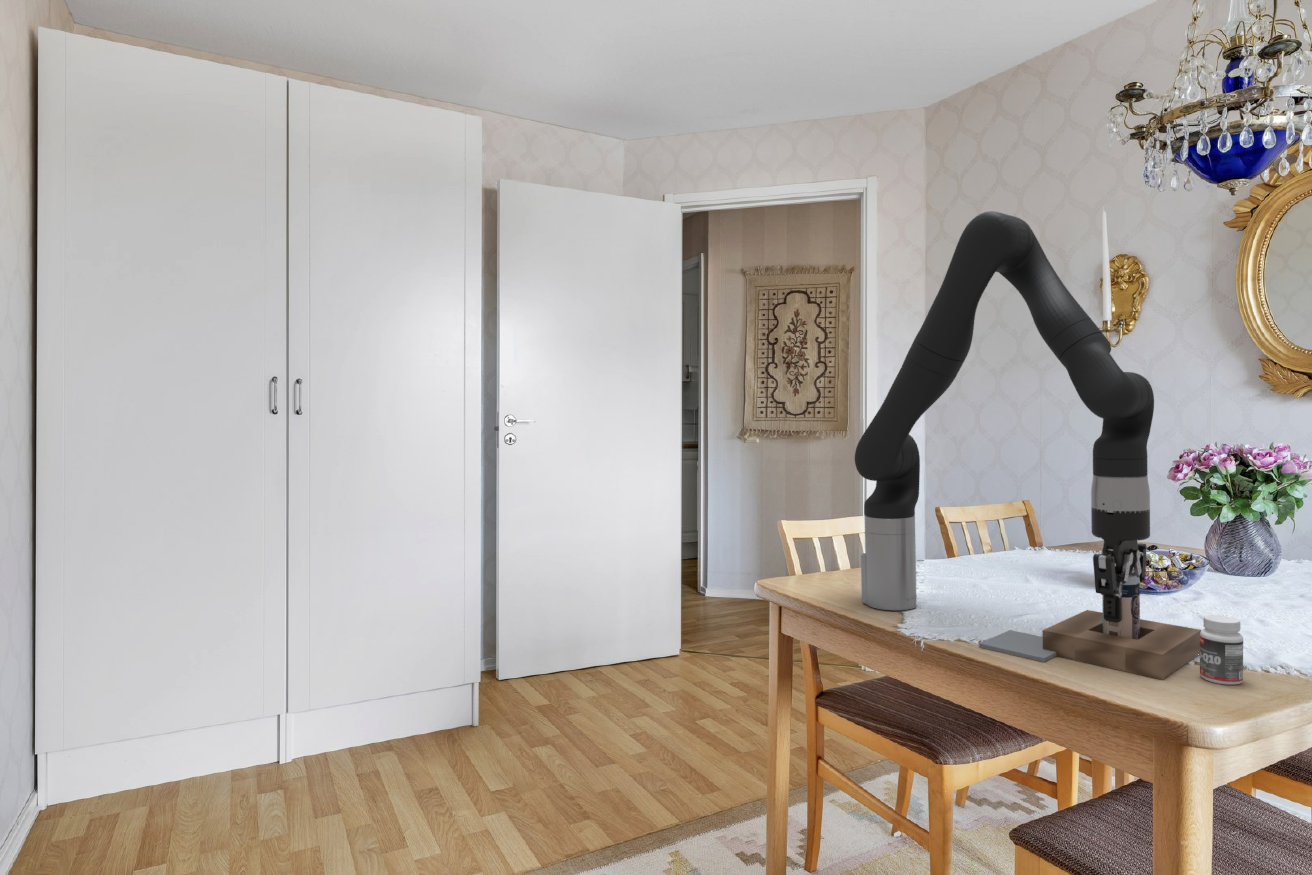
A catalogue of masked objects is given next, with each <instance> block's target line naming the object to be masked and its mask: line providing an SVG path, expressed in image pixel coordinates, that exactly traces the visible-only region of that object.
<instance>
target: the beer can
mask: <svg viewBox="0 0 1312 875" xmlns="http://www.w3.org/2000/svg"><path fill="white" fill-rule="evenodd" d="M1115 575H1118V574H1115ZM1116 584H1117V582H1116ZM1140 584H1141V582H1139V580H1138V578H1137V577H1136V575H1135V574H1133V573H1129V575H1128V581H1127V582H1126V583H1124V584H1123V589H1122V595H1121V597H1122V620H1121V621H1120V622H1118V623H1116V622H1110V621H1106V620H1105V619H1104V600H1103V596H1104V595H1101V596H1102V597H1101V599H1102V613H1103V633H1105V634H1110V635H1115V636H1120V637H1126V638H1131V639H1136V640H1138V639H1140V619H1141V611H1140V610H1141V609H1140V608H1141V606H1140V605H1141V603H1140V602H1141V600H1140V599H1141V598H1140V597H1141V596H1140V595H1141V594H1140V590H1141V589H1140V588H1141V586H1140ZM1108 586H1109V584H1108ZM1109 587H1110V586H1109Z"/></svg>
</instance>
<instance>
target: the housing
mask: <svg viewBox="0 0 1312 875" xmlns="http://www.w3.org/2000/svg"><path fill="white" fill-rule="evenodd" d="M1201 630H1202V629H1199V628H1193V627H1187V626H1182V625H1175V624H1170V623H1166V622H1165V623H1163V622H1159V621H1155V620H1154V621H1153V620H1147V619H1142V618H1140V639H1138V640H1136V639H1131V638H1126V637H1120V636H1115V635H1110V634H1105V633H1103V611H1102V612H1101V611H1096V610H1090V609H1086V610H1084V611H1082V612H1079V613H1077V614H1075V615H1072V616H1071V617H1068V618H1066V619H1064V620H1062V621H1060V622H1057V623H1055V624H1053V625H1051V626H1048V627H1047V628H1044V629H1042V637H1043V649H1045V650H1049V651H1054V652H1056V656H1055V657H1059V658H1064V659H1068V660H1073V661H1077V662H1082V663H1085V664H1091V665H1095V666H1100V667H1104V668H1109V669H1112V670H1113V669H1114V670H1118V671H1122V672H1126V673H1131V674H1135V675H1138V676H1139V675H1140V676H1144V677H1147V678H1148V677H1149V678H1152V679H1153V678H1154V679H1157V680H1161V681H1163V680H1164V679H1166V678H1168V677H1169V676H1170V675H1172V674H1173V673H1175V672H1176V671H1178V670H1179V669H1181V668H1182V667H1184V666H1185V665H1187V664H1188V663H1189V662H1191V661H1192V660H1194V659H1195V658H1196V657H1198V656H1199V655H1200V632H1201ZM1198 654H1199V655H1198ZM1197 655H1198V656H1197Z"/></svg>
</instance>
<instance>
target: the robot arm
mask: <svg viewBox="0 0 1312 875" xmlns="http://www.w3.org/2000/svg"><path fill="white" fill-rule="evenodd" d="M995 273H999V274H1000V276H1002V277H1003V278H1005V280H1007V281H1008V282H1009V283H1010V284H1011V285H1012V286H1013V287H1014V288H1015V289H1016V291H1018V292H1019V294H1020V296H1021V297H1022V298H1023V300H1024V302H1025V303H1026V305H1027V308H1028V309H1029V312H1030V315H1031V317H1032V320H1033V323H1034V325H1035V327H1036V329H1037V331H1038V333H1039V335H1040V336H1041V338H1042V339H1043V341H1044V342H1045V344H1046V345H1047V347H1048V348H1049V349H1050V350H1051V352H1052V353H1053V354H1054V356H1056V358H1057V360H1058V361H1059V362H1060V363H1061V365H1062V366H1063V367H1064V368H1065V370H1066V371H1067V373H1068V377H1069V379H1070V381H1071V383H1072V385H1073V386H1074V388H1075V391H1076V392H1077V395H1078V396H1079V398H1080V400H1081V402H1082V403H1083V404H1084V405H1085V407H1086V408H1087V409H1088V410H1089V411H1090V412H1091V413H1092V414H1094V415H1095V416H1097V417H1098V418H1101V419H1102V427H1101V434H1100V436H1098V438H1097V439H1096V440H1095V441H1094V443H1093V448H1092V481H1091V490H1090V491H1091V492H1090V498H1091V500H1090V503H1091V504H1090V506H1091V507H1090V508H1091V509H1090V511H1091V513H1090V514H1091V516H1090V517H1091V518H1090V519H1091V534H1092V535H1093V536H1094V537H1095V538H1099V539H1102V541H1103V547H1102V550H1101V554H1099V553H1098V554H1097V553H1094V554H1093V555H1092V562H1093V564H1092V565H1093V574H1094V586H1095V587H1094V588H1095V593H1096V594H1100V595H1101V596H1102V595H1104V596H1103V600H1104V619H1105V620H1106V621H1110V622H1116V623H1118V622H1120V621H1121V620H1122V597H1121V595H1122V589H1123V584H1124V583H1126V582H1127V581H1128V575H1129V573H1133V574H1135V575H1136V577H1137V578H1138V580H1139V582H1140V587H1141V586H1142V585H1141V583H1143V584H1145V581H1146V564H1147V549H1148V546H1147V544H1146V543H1142V542H1141V543H1140V542H1138V541H1144V540H1147V539H1149V538H1150V537H1151V489H1150V485H1149V480H1148V478H1149V477H1148V442H1149V438H1150V434H1151V433H1150V432H1151V430H1152V429H1151V428H1152V422H1153V417H1154V411H1155V396H1154V390H1153V387H1152V385H1151V383H1150V381H1149V380H1148V379H1147V378H1146V377H1145V376H1143V375H1141V374H1140V373H1137V372H1133V371H1123V370H1122V368H1120V366H1119V365H1118V363H1117V362H1116V360H1115V359H1114V357H1113V356H1112V354H1111V352H1112V344H1110V341H1109V339H1108V337H1106V335H1105V334H1104V333H1103V332H1102V330H1101V329H1100V328H1099V327H1098V326H1097V324H1096V323H1095V322H1094V321H1093V319H1092V318H1091V317H1090V316H1089V315H1088V313H1087V312H1086V311H1085V310H1084V308H1083V307H1082V306H1081V305H1080V304H1079V303H1078V301H1077V300H1076V299H1075V298H1074V296H1073V295H1072V294H1071V292H1070V291H1069V290H1068V288H1067V287H1066V286H1065V284H1064V283H1063V282H1062V280H1061V278H1060V277H1059V275H1058V274H1057V272H1056V270H1055V269H1054V267H1053V266H1052V264H1051V262H1050V261H1049V259H1048V257H1047V256H1046V253H1045V251H1044V249H1043V247H1042V246H1041V244H1040V242H1039V240H1038V238H1037V236H1036V235H1035V232H1034V231H1033V230H1032V228H1031V226H1030V224H1028V223H1027V222H1026V221H1025V220H1024V219H1021V218H1020V217H1017V216H1013V215H1009V214H1007V213H1002V212H999V211H984V212H981V213H979V214H978V215H976V216H974V218H972V219H971V220H970V221H969V222H968V224H967V225H966V226H965V228H964V229H963V231H962V233H961V235H960V237H959V239H958V242H957V244H956V246H955V249H954V251H953V255H952V257H951V259H950V262H949V265H948V268H947V270H946V272H945V276H944V278H943V281H942V283H941V286H940V288H939V291H938V292H937V294H936V296H935V298H934V300H933V302H932V305H931V306H930V308H929V310H928V312H927V315H926V317H925V319H924V321H923V323H922V325H921V326H920V329H919V330H918V332H917V334H916V336H915V337H914V339H913V341H912V344H911V346H910V347H909V348H908V349H909V350H908V351H907V353H906V356H905V358H904V361H903V363H902V364H901V367H900V369H899V371H898V373H897V375H896V377H895V379H894V380H893V383H892V384H891V386H890V388H889V390H888V392H887V393H886V396H885V399H884V400H883V402H882V404H881V405H880V408H879V409H878V410H877V413H876V414H875V415H874V416H873V418H872V420H871V422H870V423H869V424H868V426H867V428H866V430H865V431H864V432H863V433H862V436H861V437H860V439H859V441H858V443H857V446H856V448H855V453H854V465H855V467H856V468H855V469H856V470H857V472H858V474H859V475H860V476H861V477H862V478H863V479H865V480H868V481H874V482H876V483H875V488H874V490H873V491H872V493H871V494H870V496H869V497H868V498H866V500H865V501H864V502H863V503H864V504H863V510H864V512H863V513H864V553H861V555H860V576H861V577H860V578H861V581H860V582H861V603H862V604H865V605H867V606H868V607H871V608H873V609H877V610H885V611H907V610H912V609H915V608H916V607H917V605H918V604H917V597H918V595H917V560H916V559H917V555H916V553H917V552H916V549H917V548H916V546H917V545H916V505H917V503H918V501H919V496H920V473H921V470H920V469H921V460H920V458H921V457H920V450H919V447H918V444H917V442H916V441H915V439H914V438H913V436H912V435H910V433H911V431H912V429H913V427H915V424H916V423H917V421H918V420H919V419H921V417H922V416H923V415H924V414H925V413H926V411H927V410H929V408H931V407H932V405H934V403H936V402H937V401H938V400H939V399H940V398H941V396H942V395H944V393H945V392H946V391H947V390H948V389H949V388H950V386H951V385H952V383H953V382H954V380H955V379H956V377H957V376H958V374H959V372H960V370H961V368H962V366H963V364H964V362H965V360H966V359H967V356H968V354H969V352H970V349H971V345H972V341H973V337H974V336H973V335H974V329H975V328H974V327H975V320H976V313H977V309H978V306H979V302H980V300H981V298H982V296H983V293H984V292H985V290H986V288H987V286H988V285H989V284H990V281H991V280H992V278H993V276H994V275H995ZM1115 574H1118V575H1115ZM1116 582H1117V584H1116ZM1108 584H1109V586H1110V587H1109V586H1108Z"/></svg>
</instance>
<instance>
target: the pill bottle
mask: <svg viewBox="0 0 1312 875" xmlns="http://www.w3.org/2000/svg"><path fill="white" fill-rule="evenodd" d="M1241 629H1242V628H1241V620H1240V619H1239V618H1237V617H1234V616H1228V615H1224V614H1223V615H1222V614H1206V615H1205V616H1203V628H1202V629H1200V630H1201V632H1200V654H1199V676H1200V677H1201V678H1203V680H1206V681H1208V682H1211V683H1215V684H1220V685H1229V686H1231V685H1233V686H1235V685H1240V684H1242V683H1243V681H1244V637H1243V634H1241V633H1240V631H1241Z"/></svg>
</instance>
